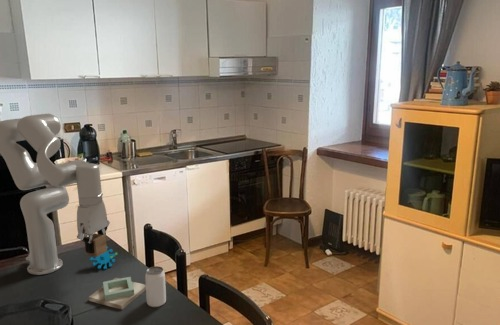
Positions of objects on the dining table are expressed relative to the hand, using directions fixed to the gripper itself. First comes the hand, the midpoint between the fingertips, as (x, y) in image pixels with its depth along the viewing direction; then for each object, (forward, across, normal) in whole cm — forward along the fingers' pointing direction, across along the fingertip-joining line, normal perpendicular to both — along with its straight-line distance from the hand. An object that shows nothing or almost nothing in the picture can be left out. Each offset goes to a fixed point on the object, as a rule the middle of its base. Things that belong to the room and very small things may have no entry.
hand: (96, 248), depth 144 cm
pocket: (+15, 0, +8) cm, 17 cm away
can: (+17, -1, +23) cm, 28 cm away
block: (+2, 0, 0) cm, 2 cm away
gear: (+16, -15, -12) cm, 25 cm away
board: (+16, 0, +8) cm, 18 cm away
